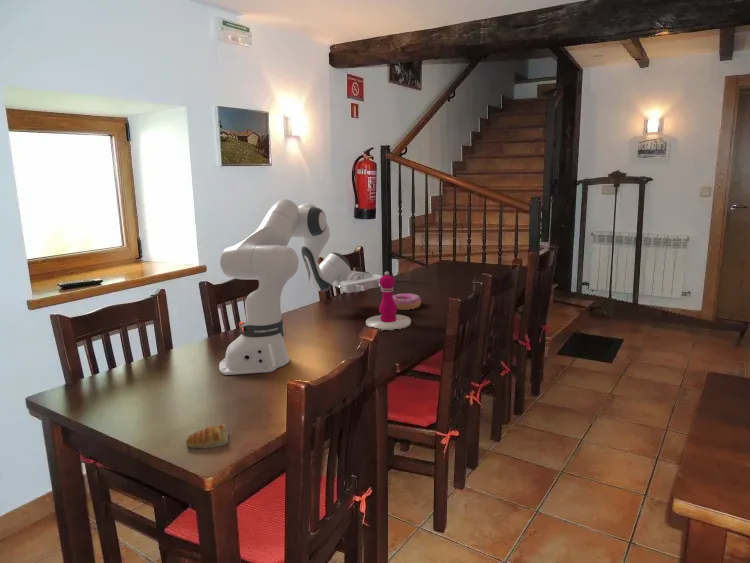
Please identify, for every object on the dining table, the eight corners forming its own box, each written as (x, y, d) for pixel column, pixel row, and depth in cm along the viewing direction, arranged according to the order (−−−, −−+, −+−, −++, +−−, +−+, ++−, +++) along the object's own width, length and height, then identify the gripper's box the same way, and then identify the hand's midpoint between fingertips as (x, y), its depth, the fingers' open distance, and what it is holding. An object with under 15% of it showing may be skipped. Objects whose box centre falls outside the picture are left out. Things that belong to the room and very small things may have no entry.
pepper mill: (395, 323, 210) (394, 273, 206) (377, 322, 212) (375, 273, 208) (398, 318, 217) (397, 269, 213) (381, 317, 218) (379, 269, 214)
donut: (421, 302, 246) (421, 292, 245) (420, 311, 233) (420, 299, 232) (390, 303, 248) (390, 292, 247) (387, 311, 234) (387, 300, 233)
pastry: (186, 454, 121) (185, 438, 120) (186, 440, 127) (185, 425, 126) (229, 445, 124) (228, 430, 123) (227, 433, 130) (225, 418, 129)
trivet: (372, 332, 204) (372, 328, 204) (361, 320, 221) (361, 317, 221) (417, 327, 208) (417, 323, 208) (402, 315, 225) (402, 312, 225)
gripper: (334, 278, 223) (352, 283, 212) (373, 271, 235) (393, 275, 224) (335, 293, 225) (353, 298, 214) (374, 285, 236) (393, 290, 225)
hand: (374, 286), depth 219 cm, fingers open, 8 cm apart
